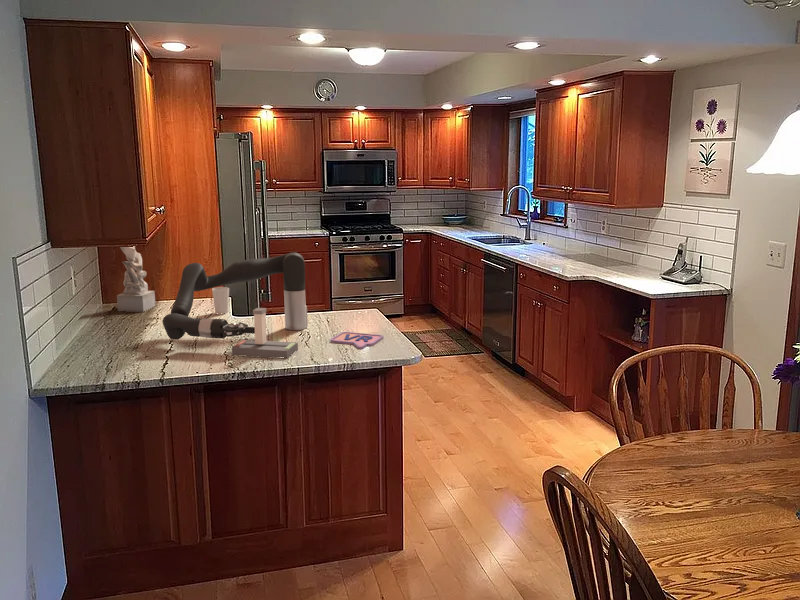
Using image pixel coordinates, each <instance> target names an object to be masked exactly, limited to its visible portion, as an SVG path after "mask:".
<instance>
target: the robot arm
mask: <svg viewBox="0 0 800 600" xmlns="http://www.w3.org/2000/svg"><path fill="white" fill-rule="evenodd" d="M305 263H306V262H305V258H304V257H303V255H302V254H300V253H298V252H288V253H285V254H282V255H277V256H274V257H273V256H272V257H263V258H261V257H259V258H253V259H244V260H238V261H234V262H233V263H231V264H230V265H228V266H227V267H226V268H225V269H224V270H222V271H221V272H219V273H217V274H212V275H207V273H206V270H205V268H204V266H203V265H202V264H201V263H199V262H191V263H189V264H187V265H186V266H185V267H184V268H183V269H182V273H181V279H180V283H179V287H178V292H177V295H176V298H175V299H174V302H173V304H172V307H171V310H170V313H168V314H165V316H163V319H162V322H161V323H162V325H163V328H164V330H165V333H166V335H167V337H168V338H169V339H171V340H173V341H177V340H180V339H181V338H183V337H184V335H185V334H187V335H188V336H190V337H199V338H208V339H226V338H227V337H228V338H229V337H230V338H231V337H237V336H242V335H245V334H254V335H255V326H248V324H247V323H243V322H241V321H239V322H238V323H235V322H232V323H230V324H229V322H228V320H227V319H226V318H197V317H196V318H194V317H190V316H189V315H190V312H191V311H192V308H193V304H194V298H195V297H194V295H195V292H201V291H205V290H210V289H213V288H218V287H223V286H226V285H232V284H238V283H246V282H252V281H257V280H260V279H263V278H265V277H266V278H267V277H269V276H272V275H275V274H282V275H283V276H282V277H283V296H284V297H283V299H284V300H283V301H284V302H283V303H284V328H285V330H290V331H301V330H305V329H306V328H307V327H308V326H309V325H308V306H307V305H306V304H307V303H306V299H307V298H306V268H305V267H306V265H305Z"/></svg>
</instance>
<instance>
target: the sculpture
mask: <svg viewBox="0 0 800 600" xmlns="http://www.w3.org/2000/svg"><path fill="white" fill-rule="evenodd" d="M119 249H120V250H121V251H122V252H123V254H124V255H125V259H126V260H127V261H126V260H125V261H122V262H121V263H122V264H123V265H124V267H125V268H126V271H125V272H124V278H123V279H124V280H123V286H124V289H123V291H122V293H119V294H117V295H116V301H117V302H116V303H117V304H116V305H117V312H120V311H126V313H127V312H128V313H130V312H131V313H133V312H136V313H144V311H145V312H147V311H149V310H151V309H153V308H155V307H154V306H156V293H155V290H149V285H148V283H147V282H146V281H145V280H144V278H146V277H147V271H146V270H143V257H142V254H141V253H140V252H137V250H136V246H133V247H119ZM152 307H153V308H152ZM150 308H151V309H150ZM148 309H149V310H148ZM146 310H147V311H146Z"/></svg>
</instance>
